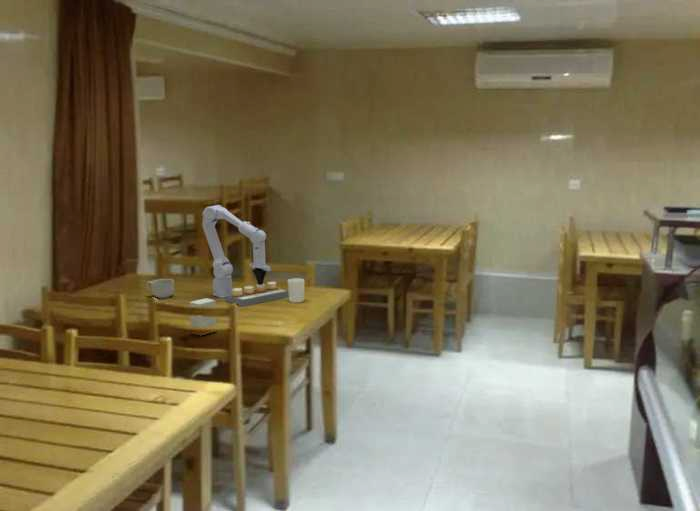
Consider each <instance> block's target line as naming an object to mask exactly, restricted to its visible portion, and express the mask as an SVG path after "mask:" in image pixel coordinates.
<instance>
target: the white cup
mask: <svg viewBox="0 0 700 511" xmlns="http://www.w3.org/2000/svg"><path fill="white" fill-rule="evenodd" d="M305 283H306V282H305V279H304V278H300V277H299V278H289V279H288V280H287V289H288V290H287V291H288V295H289V297H288V301H289V302H290V303H294V304H295V303H302V302H303V303H304V301H305Z"/></svg>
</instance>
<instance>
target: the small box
mask: <svg viewBox="0 0 700 511" xmlns="http://www.w3.org/2000/svg"><path fill="white" fill-rule="evenodd" d="M188 304H189V308H190V307H216V306H217V305H216V300H215V299H211V298H202V299H197V300H193V301H190V302H188ZM216 308H217V307H216ZM189 316H190V315H189ZM189 319H190V320H189V321H190V327H191V326H194V327H199V328H202V327H207V326H217V327H218V324H217V322H218V321H217V317H216V318H209V317H203V316H201V315H198V316H190V318H189Z"/></svg>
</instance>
